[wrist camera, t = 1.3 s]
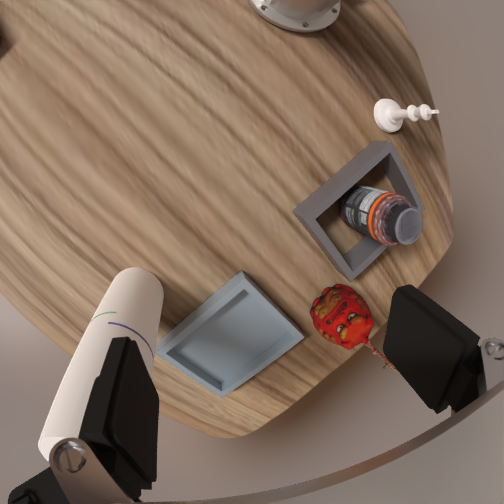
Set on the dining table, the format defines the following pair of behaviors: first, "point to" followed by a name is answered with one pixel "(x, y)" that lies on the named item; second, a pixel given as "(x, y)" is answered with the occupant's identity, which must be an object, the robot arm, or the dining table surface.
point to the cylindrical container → (105, 348)
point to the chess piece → (398, 114)
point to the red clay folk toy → (344, 318)
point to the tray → (230, 337)
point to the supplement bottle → (381, 215)
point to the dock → (343, 182)
